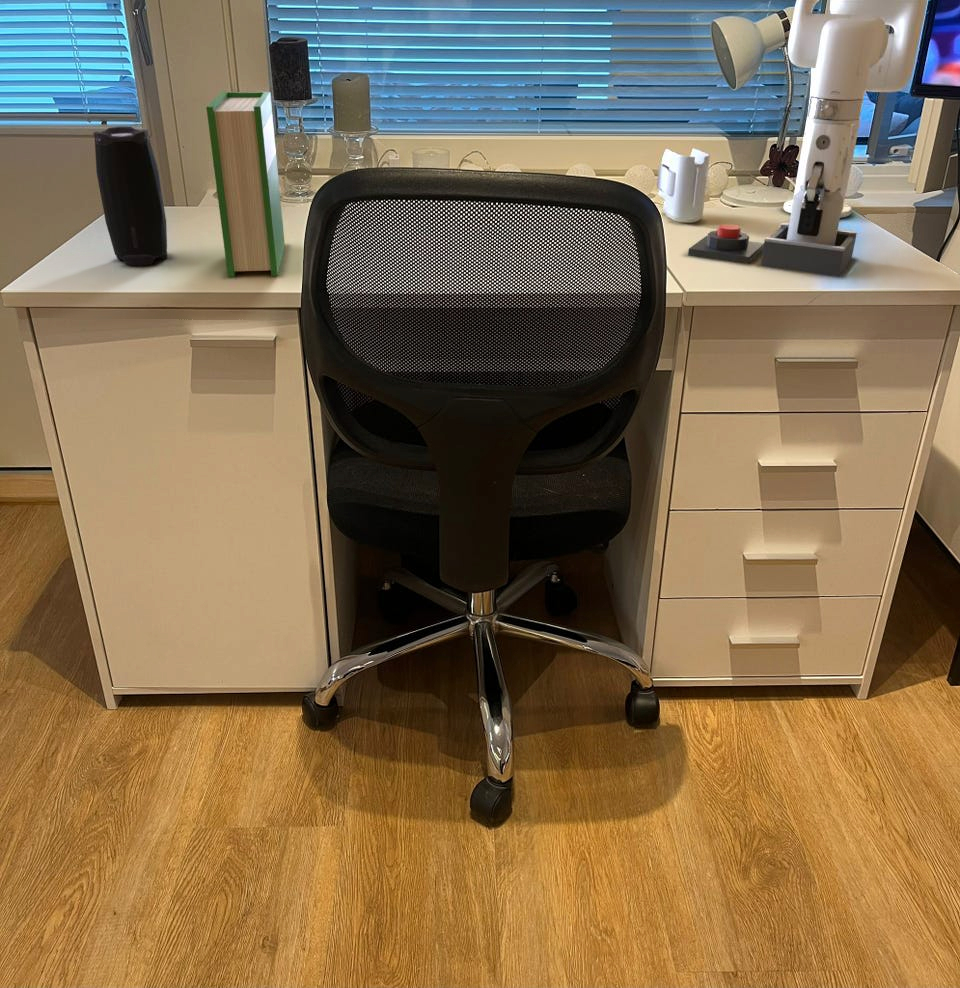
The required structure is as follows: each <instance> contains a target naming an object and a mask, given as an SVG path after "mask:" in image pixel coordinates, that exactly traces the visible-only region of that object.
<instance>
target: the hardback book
mask: <svg viewBox="0 0 960 988" xmlns="http://www.w3.org/2000/svg"><path fill="white" fill-rule="evenodd" d="M205 107H206V109H205V110H206V115H207V123H208V131H209V139H210V146H211V147H210V148H211V154H212V163H213V169H214V178H215V185H216V193H217V201H218V209H219V218H220V226H221V232H222V233H221V234H222V240H223V250H224V255H225V264H226V273H227V277H228V278H235V276H236V273H237V272H257V271H258V272H259V271H260V272H262V271H264V272H265V271H270V276H271V277H273V276H274V277H278V276H279V271H280V267H281V264H282V259H283V255H284V251H285V247H286V243H285V241H286V240H285V232H284V224H283V223H284V222H283V212H282V211H283V210H282V201H281V190H280V180H279V170H278V160H277V148H276V138H275V127H274V118H273V107H272V97H271V91H221V92H220V93H219V94H218V95H217V96H216V97H215V98H214V99H213V100H212V101H211V102H210V103H209V104H208V105H206V106H205Z"/></svg>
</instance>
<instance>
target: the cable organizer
mask: <svg viewBox="0 0 960 988" xmlns="http://www.w3.org/2000/svg"><path fill="white" fill-rule="evenodd" d="M710 158H711V154H709V153H707V152H705V151H704V150H703V151H702V150H700V149H698V148H696V147H693V148H692V151H691V153H690V155H689V156H688V155H683V154H680V153H677V152H675V151H674V150H670V149H668V148H665V150H664V153H663V156H662V158H661V165H658V167H657V169H658V170H657V177H656V189H658V196H659V197H660V198H662V199H664V201H663V207H662V209H663V212H664V214H665V216H666V217H668V218H669V219H671V220H673V221H675V222H678V223H683V224H684V223H686V224H690V223H691V224H692V223H693V224H694V223H696V222H698V221H699V220H701V218H703V215H704V208H705V199H706V192H707V183H708V177H709V175H708V174H709V167H710V161H711V159H710Z"/></svg>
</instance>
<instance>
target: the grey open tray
mask: <svg viewBox="0 0 960 988" xmlns="http://www.w3.org/2000/svg"><path fill="white" fill-rule="evenodd" d="M788 228H789V223H787V222H782V223H781V224H780V227H779V228H777V229H776V230H775V231H774V232H773V233H772V234H771V235H770V236H769V237H767V236H766V237H765V238H764V242H763V243H764V247H763V251H762V253H761V254H762V255H761V260H760V266H761V267H767V268H772V269H779V270H780V269H782V270H787V271H795V272H801V273H809V274H815V275H821V276H828V277H829V276H830V277H837V278H838V277H840V275H841V274H842V273H843V271H844V270H845V268H846V267H847V266H848V264H849V263H850V261H852V259H853V255H854V249H855V244H856V240H857V235H858V231H853V230H844V229H838V230H837V236H836V241H835V246H831V245H824V244H816V243H808V242H800V241H792V240H787V234H788Z"/></svg>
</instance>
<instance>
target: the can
mask: <svg viewBox="0 0 960 988" xmlns="http://www.w3.org/2000/svg"><path fill="white" fill-rule="evenodd" d="M817 188H822V189H823V187H817ZM840 191H841V188H838V189H837V190H836V191H835V192H833V193H830V190H826V193H825V196H824V200H823V204H822V207H821V210H823V213H822V218H821V224H820V229H819V234H818V235H817V236H808V235H800V234H798V233H797V229H798V223H799V217H800V212H801V208H802V204H803V200H804V196H805V192H806V190H804V188H803V187H802V185H801V186H800V190H799V191H798V192H797V193H796V194H795V195H794V194H793V197H794V199H793V198H792V200H793V205H792V211H791V213H790V217H789V222H788V224H789V228H788V234H787V240H792V241H800V242H808V243H816V244H824V245H831V246H835V241H836V236H837V230H839V224H840V219H841V218H840V215H841V210H842V205H843V200H844V198H843V197H842V195H841V194H840ZM818 196H819V197H820V195H819V194H818ZM818 200H819V199H818ZM844 201H845V200H844Z"/></svg>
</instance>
